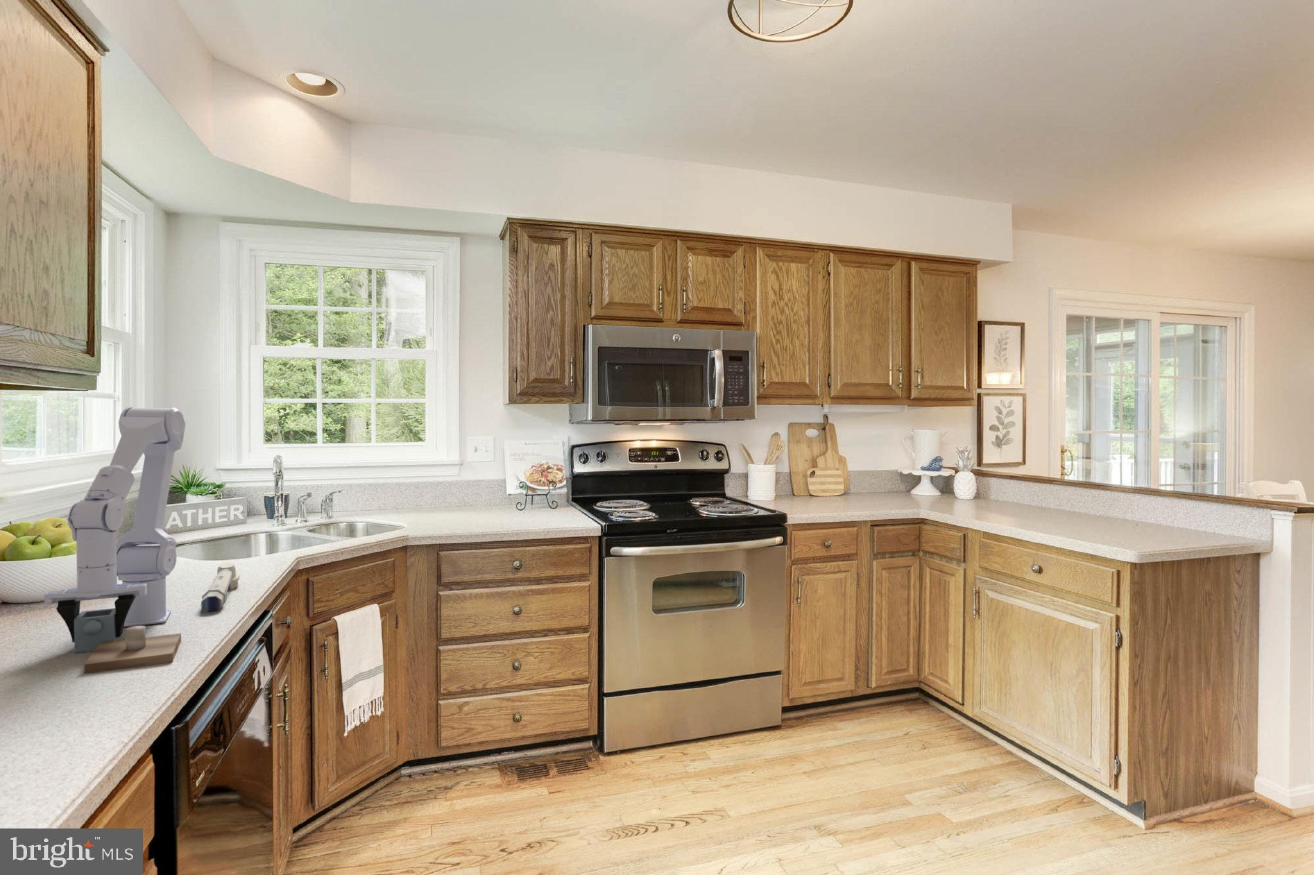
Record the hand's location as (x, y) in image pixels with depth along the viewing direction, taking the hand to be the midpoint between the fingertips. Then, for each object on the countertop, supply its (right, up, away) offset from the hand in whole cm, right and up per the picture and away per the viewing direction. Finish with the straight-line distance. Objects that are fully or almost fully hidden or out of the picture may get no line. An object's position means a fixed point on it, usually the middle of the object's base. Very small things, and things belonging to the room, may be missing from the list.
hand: (97, 638), depth 127 cm
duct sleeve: (0, -1, 0) cm, 1 cm away
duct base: (+11, -2, -5) cm, 12 cm away
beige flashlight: (+2, -1, +33) cm, 33 cm away
